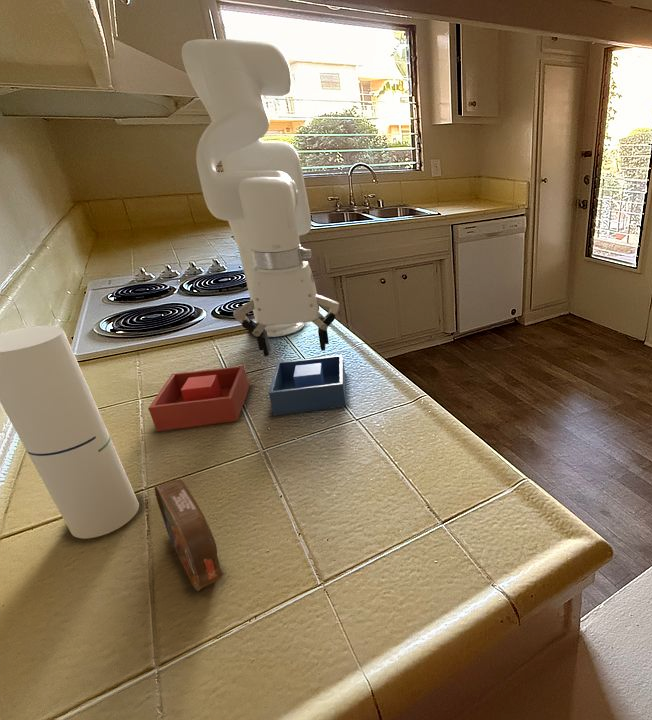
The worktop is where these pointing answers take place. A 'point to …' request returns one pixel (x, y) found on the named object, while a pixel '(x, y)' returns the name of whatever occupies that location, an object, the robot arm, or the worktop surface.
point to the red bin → (180, 414)
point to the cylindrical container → (63, 430)
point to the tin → (189, 533)
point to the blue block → (308, 375)
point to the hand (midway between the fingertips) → (295, 350)
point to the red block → (201, 388)
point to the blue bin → (308, 398)
